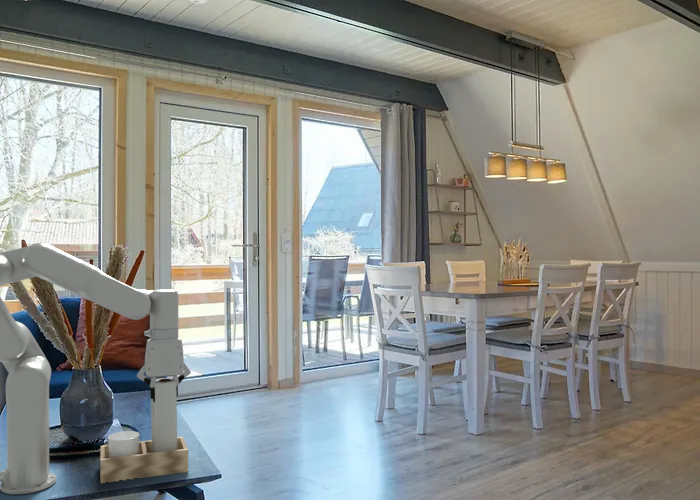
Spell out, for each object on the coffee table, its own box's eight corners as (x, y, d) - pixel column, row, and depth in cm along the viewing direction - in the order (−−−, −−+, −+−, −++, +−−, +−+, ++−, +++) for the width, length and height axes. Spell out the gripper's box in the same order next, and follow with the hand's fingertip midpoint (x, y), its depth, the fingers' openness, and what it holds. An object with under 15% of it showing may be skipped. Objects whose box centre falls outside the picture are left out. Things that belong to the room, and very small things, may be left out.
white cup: (129, 464, 169) (129, 429, 169) (144, 471, 164) (145, 434, 164) (102, 473, 163) (102, 436, 163) (117, 480, 158) (117, 442, 158)
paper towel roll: (179, 457, 166) (178, 380, 165) (157, 462, 163) (155, 383, 162) (173, 449, 172) (172, 375, 172) (151, 453, 169) (150, 377, 169)
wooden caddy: (100, 483, 155) (100, 460, 155) (100, 467, 167) (100, 445, 167) (188, 471, 164) (188, 449, 164) (182, 457, 175) (182, 436, 175)
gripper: (132, 337, 160) (132, 406, 160) (197, 334, 166) (197, 400, 167) (131, 333, 167) (131, 399, 167) (193, 330, 173) (193, 394, 174)
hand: (164, 399), depth 167 cm, fingers closed on paper towel roll, 4 cm apart
